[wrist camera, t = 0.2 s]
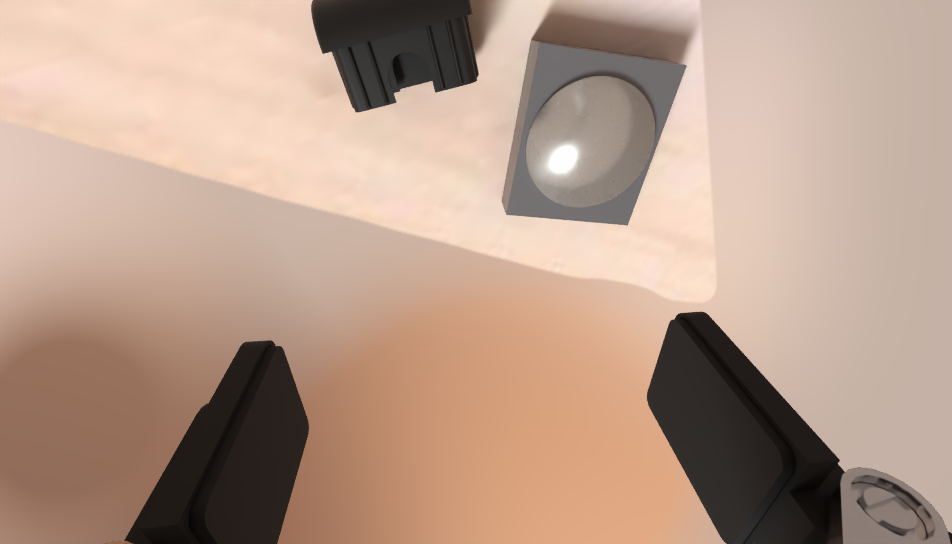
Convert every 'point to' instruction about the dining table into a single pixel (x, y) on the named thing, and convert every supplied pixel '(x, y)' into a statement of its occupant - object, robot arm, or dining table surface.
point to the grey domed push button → (586, 132)
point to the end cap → (396, 45)
